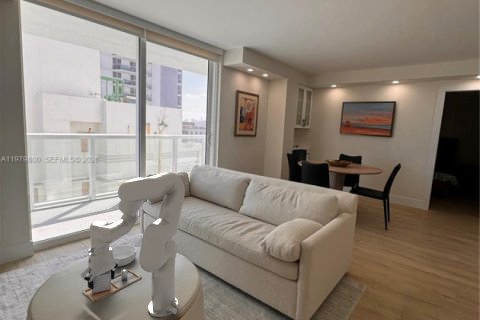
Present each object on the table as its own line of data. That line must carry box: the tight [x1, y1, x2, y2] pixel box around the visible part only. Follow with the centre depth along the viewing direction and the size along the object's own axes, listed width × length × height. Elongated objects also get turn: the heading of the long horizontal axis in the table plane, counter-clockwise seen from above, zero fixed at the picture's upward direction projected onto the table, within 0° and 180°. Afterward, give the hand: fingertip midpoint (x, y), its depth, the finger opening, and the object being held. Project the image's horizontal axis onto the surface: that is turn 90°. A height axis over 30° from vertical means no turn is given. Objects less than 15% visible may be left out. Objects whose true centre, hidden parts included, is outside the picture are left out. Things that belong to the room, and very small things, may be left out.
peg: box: [120, 268, 128, 281], centre depth 126 cm, size 3×3×5 cm
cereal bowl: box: [110, 245, 137, 268], centre depth 143 cm, size 17×17×7 cm
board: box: [82, 269, 143, 304], centre depth 122 cm, size 13×23×2 cm, turn 145°
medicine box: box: [92, 270, 111, 294], centre depth 117 cm, size 8×4×9 cm, turn 119°
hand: (101, 283), depth 117 cm, fingers closed on medicine box, 9 cm apart
